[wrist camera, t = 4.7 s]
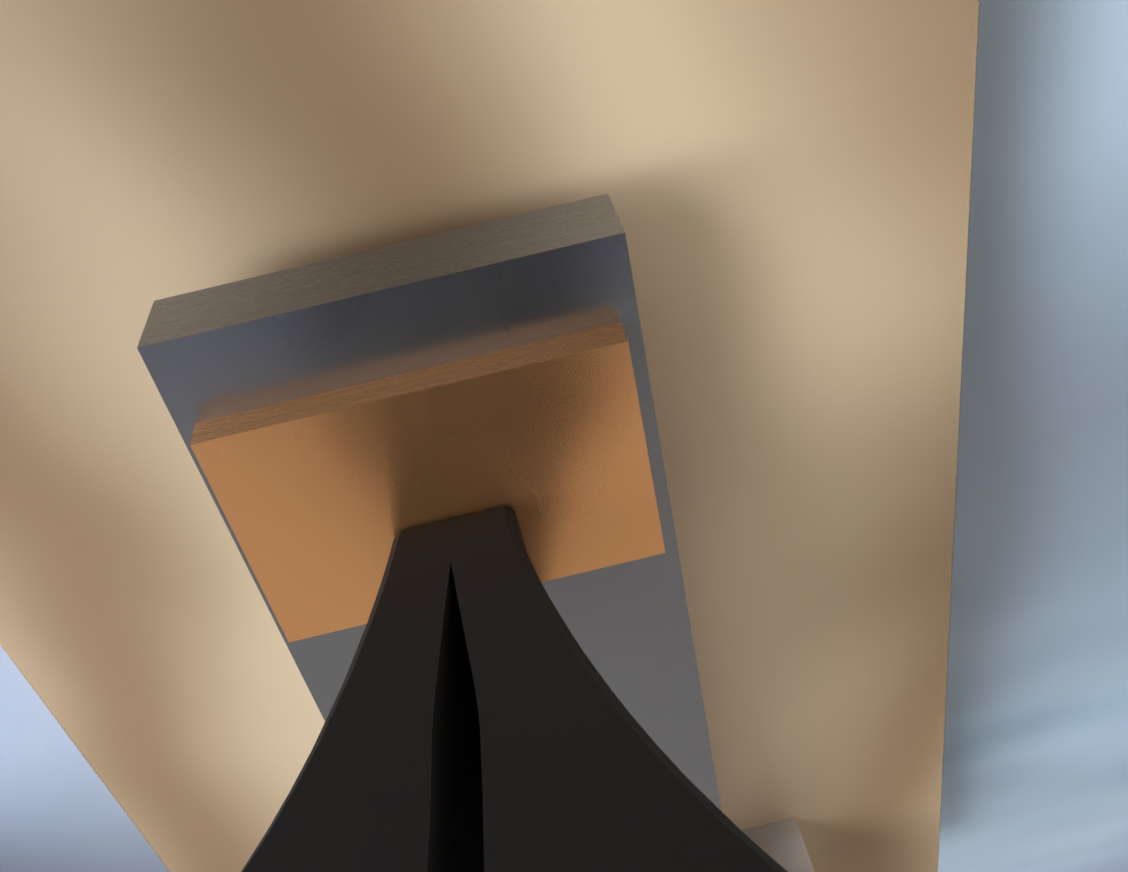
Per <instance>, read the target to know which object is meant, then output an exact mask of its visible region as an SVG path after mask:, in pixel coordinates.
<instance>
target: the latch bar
mask: <svg viewBox="0 0 1128 872" xmlns="http://www.w3.org/2000/svg"><path fill="white" fill-rule="evenodd" d="M137 349H138V351H139V353H140V355H141V357H142V359H143V361H144V363H145V365H146V367H147V369H148V371H149V373H150V375H151V377H152V379H153V381H154V383H155V385H156V387H157V389H158V391H159V393H160V395H161V397H162V399H163V401H164V403H165V405H166V407H167V409H168V411H169V413H170V415H171V417H172V419H173V421H174V423H175V425H176V427H177V429H178V431H179V433H180V435H181V437H182V439H183V441H184V443H185V445H186V447H187V449H188V451H189V452H190V454H191V456H192V458H193V460H194V462H195V464H196V466H197V468H198V470H199V472H200V474H201V476H202V478H203V480H204V482H205V484H206V486H207V488H208V490H209V492H210V494H211V496H212V498H213V500H214V502H215V504H216V506H217V508H218V510H219V512H220V514H221V516H222V518H223V520H224V522H225V524H226V526H227V528H228V530H229V532H230V534H231V536H232V538H233V540H234V542H235V544H236V546H237V548H238V550H239V552H240V554H241V556H242V558H243V560H244V562H245V564H246V566H247V568H248V570H249V572H250V574H251V576H252V578H253V580H254V582H255V584H256V586H257V588H258V590H259V592H260V593H261V595H262V597H263V599H264V601H265V603H266V605H267V607H268V609H269V611H270V613H271V615H272V617H273V619H274V621H275V623H276V625H277V627H278V629H279V631H280V633H281V635H282V637H283V639H284V641H285V643H286V645H287V647H288V649H289V651H290V653H291V655H292V657H293V659H294V661H295V663H296V665H297V667H298V669H299V671H300V673H301V675H302V677H303V679H304V681H305V683H306V685H307V687H308V689H309V691H310V693H311V695H312V697H313V699H314V701H315V703H316V705H317V707H318V709H319V711H320V713H321V715H322V717H323V719H324V721H326V719H327V717H328V715H329V713H330V710H331V708H332V706H333V704H334V702H335V700H336V698H337V695H338V693H339V691H340V689H341V687H342V684H343V682H344V680H345V677H346V675H347V673H348V670H349V668H350V665H351V663H352V660H353V658H354V655H355V652H356V650H357V647H358V645H359V642H360V640H361V637H362V635H363V632H364V630H365V627H366V625H367V622H368V619H369V616H370V613H371V611H372V608H373V605H374V602H375V599H376V596H377V593H378V590H379V587H380V584H381V581H382V578H383V575H384V572H385V568H386V565H387V562H388V558H389V555H390V551H391V547H392V543H393V540H394V539H395V537H396V536H397V534H398V533H399V532H400V531H401V530H405V529H409V528H413V527H417V526H422V525H426V524H430V523H434V522H438V521H443V520H447V519H451V518H455V517H459V516H464V515H468V514H472V513H476V512H480V511H485V510H489V509H493V508H497V507H501V506H505V507H507V508H509V509H511V510H513V511H515V513H516V516H517V520H518V523H519V527H520V530H521V534H522V537H523V541H524V545H525V548H526V551H527V554H528V556H529V558H530V561H531V563H532V565H533V567H534V569H535V571H536V573H537V575H538V577H539V579H540V581H541V583H542V585H543V587H544V588H545V590H546V592H547V594H548V596H549V597H550V599H551V601H552V602H553V604H554V606H555V607H556V609H557V611H558V612H559V614H560V616H561V617H562V619H563V620H564V622H565V624H566V625H567V627H568V629H569V630H570V632H571V633H572V635H573V637H574V638H575V640H576V641H577V642H578V644H579V645H580V647H581V648H582V650H583V651H584V653H585V654H586V656H587V657H588V659H589V660H590V661H591V663H592V664H593V665H594V667H595V668H596V670H597V671H598V672H599V674H600V675H601V676H602V678H603V679H604V681H605V682H606V683H607V685H608V686H609V687H610V689H611V690H612V691H613V692H614V694H615V695H616V696H617V698H618V699H619V700H620V701H621V703H622V704H623V705H624V706H625V708H626V709H627V710H628V711H629V713H630V714H631V715H632V716H633V717H634V719H635V720H636V721H637V722H638V723H639V725H640V726H641V727H642V728H643V729H644V730H645V732H646V733H647V734H648V735H649V736H650V737H651V739H652V740H653V741H654V742H655V743H656V744H657V745H658V746H659V748H660V749H661V750H662V751H663V752H664V753H665V754H666V755H667V756H668V757H669V759H670V760H671V761H672V762H673V763H674V764H675V765H676V766H677V767H678V768H679V770H680V771H681V772H682V773H683V774H684V775H685V776H686V777H687V778H688V779H689V780H690V781H691V782H692V783H693V784H694V785H695V786H696V787H697V788H698V789H699V790H700V791H701V792H702V793H703V794H704V795H705V796H706V797H707V798H709V799H710V800H711V801H712V802H713V803H714V804H715V805H716V806H717V807H718V808H719V809H720V810H721V805H720V799H719V793H718V787H717V781H716V775H715V769H714V763H713V757H712V751H711V745H710V739H709V733H708V727H707V721H706V715H705V709H704V703H703V697H702V691H701V685H700V679H699V673H698V667H697V661H696V655H695V649H694V643H693V637H692V631H691V625H690V619H689V613H688V607H687V601H686V595H685V589H684V583H683V577H682V571H681V565H680V559H679V553H678V547H677V541H676V535H675V529H674V523H673V517H672V511H671V505H670V499H669V493H668V487H667V481H666V475H665V469H664V463H663V457H662V451H661V445H660V439H659V433H658V427H657V421H656V415H655V409H654V403H653V397H652V391H651V385H650V379H649V373H648V366H647V360H646V354H645V348H644V342H643V336H642V330H641V324H640V318H639V312H638V306H637V300H636V294H635V288H634V282H633V276H632V270H631V264H630V258H629V252H628V246H627V240H626V234H625V231H624V229H623V226H622V224H621V222H620V220H619V218H618V215H617V213H616V211H615V209H614V206H613V204H612V202H611V200H610V197H609V195H608V194H604V195H600V196H595V197H591V198H587V199H583V200H578V201H574V202H570V203H566V204H562V205H557V206H553V207H549V208H545V209H540V210H536V211H532V212H528V213H523V214H519V215H515V216H511V217H506V218H502V219H498V220H494V221H490V222H485V223H481V224H477V225H473V226H468V227H464V228H460V229H456V230H451V231H447V232H443V233H439V234H435V235H430V236H426V237H422V238H418V239H413V240H409V241H405V242H401V243H396V244H392V245H388V246H384V247H380V248H375V249H371V250H367V251H363V252H358V253H354V254H350V255H346V256H341V257H337V258H333V259H329V260H325V261H320V262H316V263H312V264H308V265H303V266H299V267H295V268H291V269H286V270H282V271H278V272H274V273H270V274H265V275H261V276H257V277H253V278H248V279H244V280H240V281H236V282H231V283H227V284H223V285H219V286H215V287H210V288H206V289H202V290H198V291H193V292H189V293H185V294H181V295H176V296H172V297H168V298H164V299H160V300H155V301H154V302H153V305H152V308H151V311H150V313H149V316H148V319H147V322H146V324H145V327H144V330H143V333H142V335H141V338H140V341H139V343H138V346H137Z"/></svg>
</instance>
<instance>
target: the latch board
mask: <svg viewBox="0 0 1128 872" xmlns="http://www.w3.org/2000/svg"><path fill="white" fill-rule="evenodd" d="M978 14H979V0H0V645H1V646H2V648H3V649H4V651H5V652H6V653H7V655H8V656H9V657H10V659H11V660H12V661H13V663H14V664H15V665H16V667H17V668H18V669H19V671H20V672H21V673H22V675H23V676H24V677H25V679H26V680H27V681H28V683H29V684H30V685H31V687H32V688H33V689H34V691H35V692H36V693H37V695H38V696H39V697H40V699H41V700H42V701H43V703H44V704H45V705H46V707H47V708H48V709H49V711H50V712H51V713H52V715H53V716H54V717H55V719H56V720H57V721H58V723H59V724H60V725H61V727H62V728H63V729H64V731H65V732H66V734H67V735H68V736H69V738H70V739H71V740H72V742H73V743H74V744H75V746H76V747H77V748H78V750H79V751H80V752H81V754H82V755H83V756H84V758H85V759H86V760H87V762H88V763H89V764H90V766H91V767H92V768H93V770H94V771H95V772H96V774H97V775H98V776H99V778H100V779H101V780H102V782H103V783H104V784H105V786H106V787H107V788H108V790H109V791H110V792H111V794H112V795H113V796H114V798H115V799H116V800H117V802H118V803H119V804H120V806H121V807H122V808H123V810H124V811H125V813H126V814H127V815H128V817H129V818H130V819H131V821H132V822H133V823H134V825H135V826H136V827H137V829H138V830H139V831H140V833H141V834H142V835H143V837H144V838H145V839H146V841H147V842H148V843H149V845H150V846H151V847H152V849H153V850H154V851H155V853H156V854H157V855H158V857H159V858H160V859H161V861H162V862H163V863H164V865H165V866H166V867H167V869H168V870H169V871H170V872H241V871H242V869H243V868H244V866H245V865H246V863H247V862H248V860H249V858H250V857H251V855H252V854H253V852H254V851H255V849H256V847H257V846H258V844H259V843H260V841H261V840H262V838H263V836H264V835H265V833H266V832H267V830H268V828H269V827H270V825H271V823H272V822H273V820H274V818H275V816H276V815H277V813H278V811H279V809H280V808H281V806H282V804H283V802H284V801H285V799H286V797H287V796H288V794H289V792H290V790H291V788H292V787H293V785H294V783H295V781H296V779H297V777H298V776H299V774H300V772H301V770H302V768H303V766H304V764H305V762H306V760H307V758H308V756H309V754H310V753H311V751H312V749H313V747H314V745H315V742H316V740H317V738H318V736H319V734H320V732H321V730H322V728H323V725H324V723H325V721H324V719H323V717H322V715H321V713H320V711H319V709H318V707H317V705H316V703H315V701H314V699H313V697H312V695H311V693H310V691H309V689H308V687H307V685H306V683H305V681H304V679H303V677H302V675H301V673H300V671H299V669H298V667H297V665H296V663H295V661H294V659H293V657H292V655H291V653H290V651H289V649H288V647H287V645H286V643H285V641H284V639H283V637H282V635H281V633H280V631H279V629H278V627H277V625H276V623H275V621H274V619H273V617H272V615H271V613H270V611H269V609H268V607H267V605H266V603H265V601H264V599H263V597H262V595H261V593H260V592H259V590H258V588H257V586H256V584H255V582H254V580H253V578H252V576H251V574H250V572H249V570H248V568H247V566H246V564H245V562H244V560H243V558H242V556H241V554H240V552H239V550H238V548H237V546H236V544H235V542H234V540H233V538H232V536H231V534H230V532H229V530H228V528H227V526H226V524H225V522H224V520H223V518H222V516H221V514H220V512H219V510H218V508H217V506H216V504H215V502H214V500H213V498H212V496H211V494H210V492H209V490H208V488H207V486H206V484H205V482H204V480H203V478H202V476H201V474H200V472H199V470H198V468H197V466H196V464H195V462H194V460H193V458H192V456H191V454H190V452H189V451H188V449H187V447H186V445H185V443H184V441H183V439H182V437H181V435H180V433H179V431H178V429H177V427H176V425H175V423H174V421H173V419H172V417H171V415H170V413H169V411H168V409H167V407H166V405H165V403H164V401H163V399H162V397H161V395H160V393H159V391H158V389H157V387H156V385H155V383H154V381H153V379H152V377H151V375H150V373H149V371H148V369H147V367H146V365H145V363H144V361H143V359H142V357H141V355H140V353H139V351H138V349H137V346H138V343H139V341H140V338H141V335H142V333H143V330H144V327H145V324H146V322H147V319H148V316H149V313H150V311H151V308H152V305H153V302H154V301H155V300H160V299H164V298H168V297H172V296H176V295H181V294H185V293H189V292H193V291H198V290H202V289H206V288H210V287H215V286H219V285H223V284H227V283H231V282H236V281H240V280H244V279H248V278H253V277H257V276H261V275H265V274H270V273H274V272H278V271H282V270H286V269H291V268H295V267H299V266H303V265H308V264H312V263H316V262H320V261H325V260H329V259H333V258H337V257H341V256H346V255H350V254H354V253H358V252H363V251H367V250H371V249H375V248H380V247H384V246H388V245H392V244H396V243H401V242H405V241H409V240H413V239H418V238H422V237H426V236H430V235H435V234H439V233H443V232H447V231H451V230H456V229H460V228H464V227H468V226H473V225H477V224H481V223H485V222H490V221H494V220H498V219H502V218H506V217H511V216H515V215H519V214H523V213H528V212H532V211H536V210H540V209H545V208H549V207H553V206H557V205H562V204H566V203H570V202H574V201H578V200H583V199H587V198H591V197H595V196H600V195H604V194H608V195H609V197H610V200H611V202H612V204H613V206H614V209H615V211H616V213H617V215H618V218H619V220H620V222H621V224H622V226H623V229H624V231H625V234H626V240H627V246H628V252H629V258H630V264H631V270H632V276H633V282H634V288H635V294H636V300H637V306H638V312H639V318H640V324H641V330H642V336H643V342H644V348H645V354H646V360H647V366H648V373H649V379H650V385H651V391H652V397H653V403H654V409H655V415H656V421H657V427H658V433H659V439H660V445H661V451H662V457H663V463H664V469H665V475H666V481H667V487H668V493H669V499H670V505H671V511H672V517H673V523H674V529H675V535H676V541H677V547H678V553H679V559H680V565H681V571H682V577H683V583H684V589H685V595H686V601H687V607H688V613H689V619H690V625H691V631H692V637H693V643H694V649H695V655H696V661H697V667H698V673H699V679H700V685H701V691H702V697H703V703H704V709H705V715H706V721H707V727H708V733H709V739H710V745H711V751H712V757H713V763H714V769H715V775H716V781H717V787H718V793H719V799H720V805H721V811H722V812H723V813H724V814H725V815H726V816H727V817H728V818H729V819H730V820H731V821H732V822H733V823H734V824H735V825H736V826H737V827H738V828H739V829H740V830H741V831H742V832H743V833H744V834H746V835H747V836H748V837H749V838H750V839H751V840H752V841H753V842H755V843H756V844H757V845H758V846H759V847H760V848H761V849H762V850H764V851H765V852H766V853H767V854H768V855H769V856H770V857H772V858H773V859H774V860H775V861H776V862H777V863H778V864H779V865H781V866H782V867H783V868H784V869H785V870H786V871H788V872H938V852H939V831H940V810H941V789H942V768H943V747H944V726H945V705H946V684H947V663H948V642H949V621H950V601H951V580H952V559H953V538H954V517H955V496H956V475H957V454H958V433H959V412H960V391H961V370H962V349H963V328H964V307H965V287H966V266H967V245H968V224H969V203H970V182H971V161H972V140H973V119H974V98H975V77H976V56H977V35H978Z"/></svg>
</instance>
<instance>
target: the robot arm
mask: <svg viewBox="0 0 1128 872" xmlns="http://www.w3.org/2000/svg"><path fill="white" fill-rule="evenodd" d="M241 872H788V871H786V870H785V869H784V868H783V867H782V866H781V865H779V864H778V863H777V862H776V861H775V860H774V859H773V858H772V857H770V856H769V855H768V854H767V853H766V852H765V851H764V850H762V849H761V848H760V847H759V846H758V845H757V844H756V843H755V842H753V841H752V840H751V839H750V838H749V837H748V836H747V835H746V834H744V833H743V832H742V831H741V830H740V829H739V828H738V827H737V826H736V825H735V824H734V823H733V822H732V821H731V820H730V819H729V818H728V817H727V816H726V815H725V814H724V813H723V812H722V811H721V810H720V809H719V808H718V807H717V806H716V805H715V804H714V803H713V802H712V801H711V800H710V799H709V798H707V797H706V796H705V795H704V794H703V793H702V792H701V791H700V790H699V789H698V788H697V787H696V786H695V785H694V784H693V783H692V782H691V781H690V780H689V779H688V778H687V777H686V776H685V775H684V774H683V773H682V772H681V771H680V770H679V768H678V767H677V766H676V765H675V764H674V763H673V762H672V761H671V760H670V759H669V757H668V756H667V755H666V754H665V753H664V752H663V751H662V750H661V749H660V748H659V746H658V745H657V744H656V743H655V742H654V741H653V740H652V739H651V737H650V736H649V735H648V734H647V733H646V732H645V730H644V729H643V728H642V727H641V726H640V725H639V723H638V722H637V721H636V720H635V719H634V717H633V716H632V715H631V714H630V713H629V711H628V710H627V709H626V708H625V706H624V705H623V704H622V703H621V701H620V700H619V699H618V698H617V696H616V695H615V694H614V692H613V691H612V690H611V689H610V687H609V686H608V685H607V683H606V682H605V681H604V679H603V678H602V676H601V675H600V674H599V672H598V671H597V670H596V668H595V667H594V665H593V664H592V663H591V661H590V660H589V659H588V657H587V656H586V654H585V653H584V651H583V650H582V648H581V647H580V645H579V644H578V642H577V641H576V640H575V638H574V637H573V635H572V633H571V632H570V630H569V629H568V627H567V625H566V624H565V622H564V620H563V619H562V617H561V616H560V614H559V612H558V611H557V609H556V607H555V606H554V604H553V602H552V601H551V599H550V597H549V596H548V594H547V592H546V590H545V588H544V587H543V585H542V583H541V581H540V579H539V577H538V575H537V573H536V571H535V569H534V567H533V565H532V563H531V561H530V558H529V556H528V554H527V551H526V548H525V545H524V541H523V537H522V534H521V530H520V527H519V523H518V520H517V516H516V513H515V511H513V510H511V509H509V508H507V507H505V506H501V507H497V508H493V509H489V510H485V511H480V512H476V513H472V514H468V515H464V516H459V517H455V518H451V519H447V520H443V521H438V522H434V523H430V524H426V525H422V526H417V527H413V528H409V529H405V530H401V531H400V532H399V533H398V534H397V536H396V537H395V539H394V540H393V543H392V547H391V551H390V555H389V558H388V562H387V565H386V568H385V572H384V575H383V578H382V581H381V584H380V587H379V590H378V593H377V596H376V599H375V602H374V605H373V608H372V611H371V613H370V616H369V619H368V622H367V625H366V627H365V630H364V632H363V635H362V637H361V640H360V642H359V645H358V647H357V650H356V652H355V655H354V658H353V660H352V663H351V665H350V668H349V670H348V673H347V675H346V677H345V680H344V682H343V684H342V687H341V689H340V691H339V693H338V695H337V698H336V700H335V702H334V704H333V706H332V708H331V710H330V713H329V715H328V717H327V719H326V721H325V723H324V725H323V728H322V730H321V732H320V734H319V736H318V738H317V740H316V742H315V745H314V747H313V749H312V751H311V753H310V754H309V756H308V758H307V760H306V762H305V764H304V766H303V768H302V770H301V772H300V774H299V776H298V777H297V779H296V781H295V783H294V785H293V787H292V788H291V790H290V792H289V794H288V796H287V797H286V799H285V801H284V802H283V804H282V806H281V808H280V809H279V811H278V813H277V815H276V816H275V818H274V820H273V822H272V823H271V825H270V827H269V828H268V830H267V832H266V833H265V835H264V836H263V838H262V840H261V841H260V843H259V844H258V846H257V847H256V849H255V851H254V852H253V854H252V855H251V857H250V858H249V860H248V862H247V863H246V865H245V866H244V868H243V869H242V871H241Z"/></svg>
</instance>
